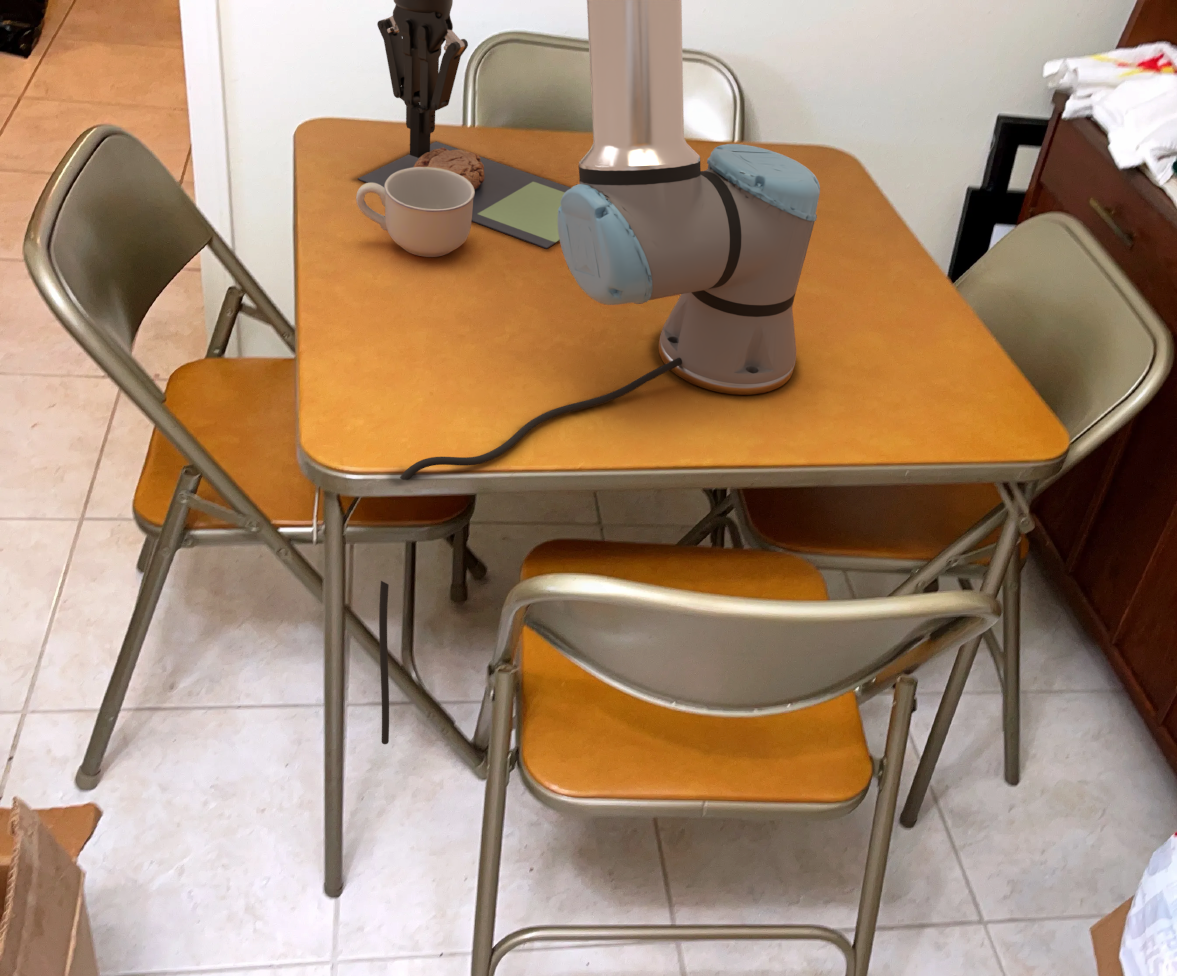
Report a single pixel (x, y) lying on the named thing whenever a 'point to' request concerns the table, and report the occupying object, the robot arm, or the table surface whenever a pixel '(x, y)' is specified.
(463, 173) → the cookie
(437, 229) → the teacup
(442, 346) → the table surface
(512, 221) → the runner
